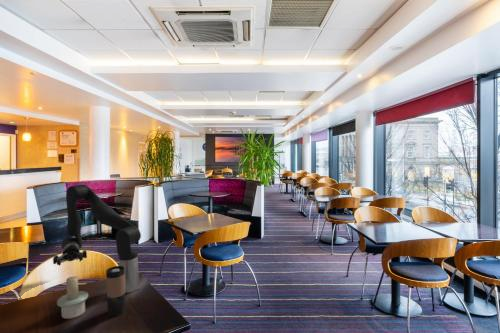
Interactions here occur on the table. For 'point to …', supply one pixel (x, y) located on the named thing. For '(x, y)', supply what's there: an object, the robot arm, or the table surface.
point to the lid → (72, 294)
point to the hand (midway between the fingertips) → (70, 261)
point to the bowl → (73, 310)
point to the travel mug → (115, 290)
